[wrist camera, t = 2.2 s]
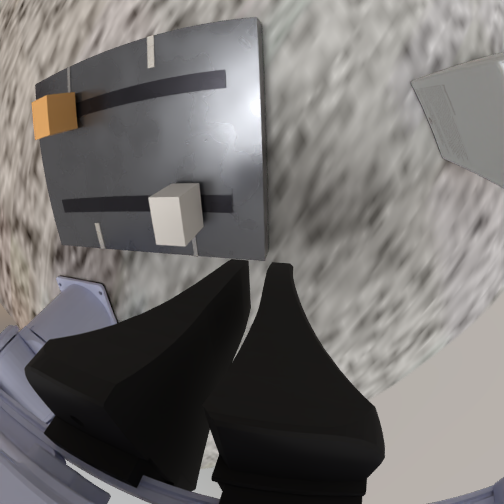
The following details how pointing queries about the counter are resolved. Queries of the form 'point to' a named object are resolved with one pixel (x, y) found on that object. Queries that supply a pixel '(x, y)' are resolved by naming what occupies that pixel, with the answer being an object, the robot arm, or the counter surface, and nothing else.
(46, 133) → the orange fader
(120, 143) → the console board
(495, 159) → the small box
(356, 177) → the counter surface
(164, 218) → the white fader
